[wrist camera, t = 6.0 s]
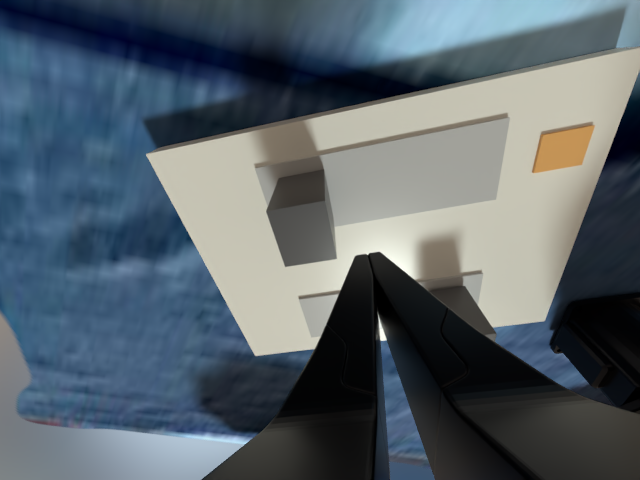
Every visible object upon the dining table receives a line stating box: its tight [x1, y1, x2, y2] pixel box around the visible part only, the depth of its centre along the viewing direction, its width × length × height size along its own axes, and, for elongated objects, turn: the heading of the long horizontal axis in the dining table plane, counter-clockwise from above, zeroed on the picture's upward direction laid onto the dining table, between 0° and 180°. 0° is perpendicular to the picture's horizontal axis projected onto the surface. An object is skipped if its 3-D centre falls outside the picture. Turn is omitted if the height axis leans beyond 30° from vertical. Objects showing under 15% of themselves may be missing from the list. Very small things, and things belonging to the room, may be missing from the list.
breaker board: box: [146, 46, 640, 356], centre depth 18 cm, size 24×18×2 cm
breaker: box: [429, 286, 496, 342], centre depth 18 cm, size 2×3×4 cm
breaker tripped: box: [266, 169, 337, 267], centre depth 13 cm, size 2×3×4 cm
